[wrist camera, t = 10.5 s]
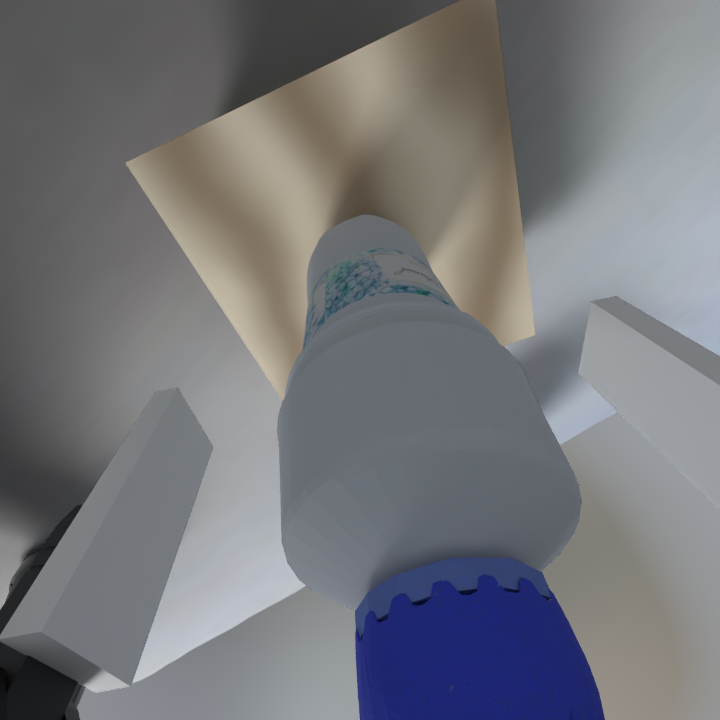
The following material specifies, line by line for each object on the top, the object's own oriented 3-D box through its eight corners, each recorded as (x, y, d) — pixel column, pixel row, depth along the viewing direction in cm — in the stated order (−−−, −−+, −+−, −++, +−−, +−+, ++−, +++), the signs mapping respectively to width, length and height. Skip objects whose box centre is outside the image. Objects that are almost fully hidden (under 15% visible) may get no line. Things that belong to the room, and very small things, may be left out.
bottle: (444, 264, 21) (859, 774, 5) (362, 336, 24) (445, 853, 7) (365, 174, 18) (724, 675, 2) (280, 266, 21) (84, 866, 4)
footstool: (301, 359, 34) (294, 418, 27) (181, 151, 24) (125, 162, 17) (491, 289, 31) (535, 335, 25) (442, 26, 22) (493, -17, 15)
